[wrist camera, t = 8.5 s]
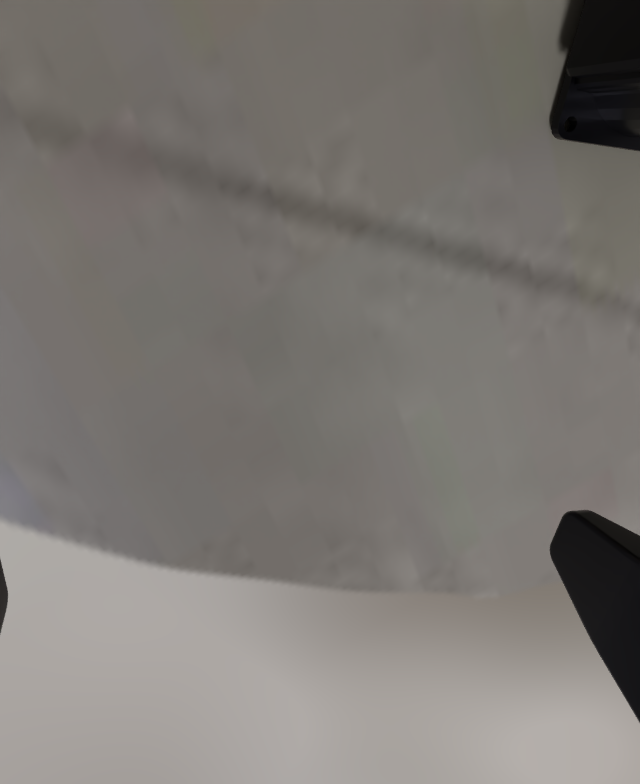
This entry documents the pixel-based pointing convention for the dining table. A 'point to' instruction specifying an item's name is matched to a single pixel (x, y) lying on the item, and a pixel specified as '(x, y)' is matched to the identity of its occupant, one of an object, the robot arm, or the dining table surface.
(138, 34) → the dining table surface
